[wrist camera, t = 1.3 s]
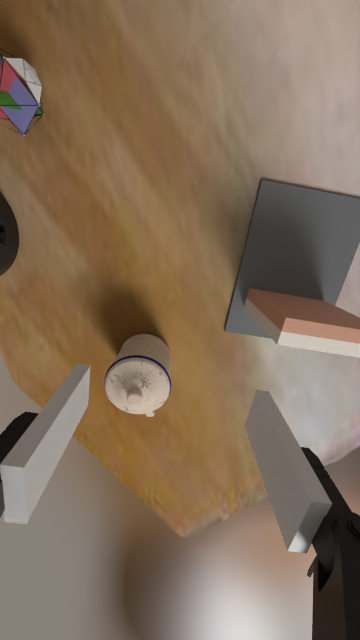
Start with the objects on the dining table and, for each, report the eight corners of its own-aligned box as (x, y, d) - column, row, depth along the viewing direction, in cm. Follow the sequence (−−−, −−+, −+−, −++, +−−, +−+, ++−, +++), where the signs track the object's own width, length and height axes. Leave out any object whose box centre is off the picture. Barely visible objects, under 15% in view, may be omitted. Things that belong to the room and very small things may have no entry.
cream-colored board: (317, 318, 40) (385, 361, 27) (244, 306, 39) (277, 344, 26) (323, 300, 39) (398, 335, 26) (248, 288, 38) (286, 317, 25)
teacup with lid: (112, 336, 41) (87, 374, 30) (166, 326, 41) (161, 361, 30) (130, 397, 45) (114, 450, 34) (180, 389, 45) (180, 440, 34)
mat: (318, 344, 42) (319, 346, 42) (224, 330, 41) (224, 331, 41) (372, 202, 35) (375, 201, 35) (261, 180, 34) (262, 179, 34)
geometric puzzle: (7, 156, 31) (-3, 102, 24) (-40, 102, 29) (-65, 26, 22) (55, 135, 34) (59, 81, 27) (15, 84, 32) (8, 13, 25)
